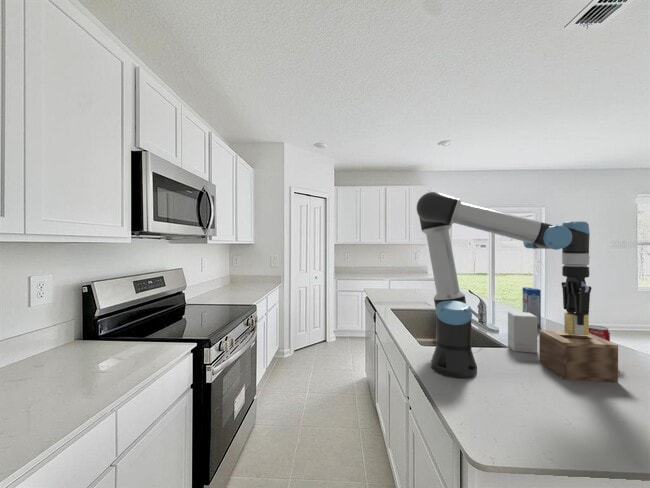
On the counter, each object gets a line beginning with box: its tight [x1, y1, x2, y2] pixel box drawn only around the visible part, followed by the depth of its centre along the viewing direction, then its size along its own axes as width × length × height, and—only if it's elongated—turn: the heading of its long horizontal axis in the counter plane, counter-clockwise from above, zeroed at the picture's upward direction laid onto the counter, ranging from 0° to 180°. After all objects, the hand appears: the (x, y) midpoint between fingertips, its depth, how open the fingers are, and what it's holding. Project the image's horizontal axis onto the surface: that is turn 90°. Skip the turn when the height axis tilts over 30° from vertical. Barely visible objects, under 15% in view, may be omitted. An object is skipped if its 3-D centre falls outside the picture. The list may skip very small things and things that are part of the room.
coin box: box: [538, 329, 619, 383], centre depth 114 cm, size 16×16×12 cm
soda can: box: [589, 324, 611, 342], centre depth 123 cm, size 7×7×13 cm
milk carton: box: [522, 286, 542, 328], centre depth 179 cm, size 10×6×20 cm, turn 162°
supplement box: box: [507, 311, 538, 354], centre depth 138 cm, size 9×9×15 cm
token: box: [563, 312, 590, 335], centre depth 114 cm, size 6×3×7 cm, turn 80°
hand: (575, 332), depth 114 cm, fingers closed on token, 3 cm apart
